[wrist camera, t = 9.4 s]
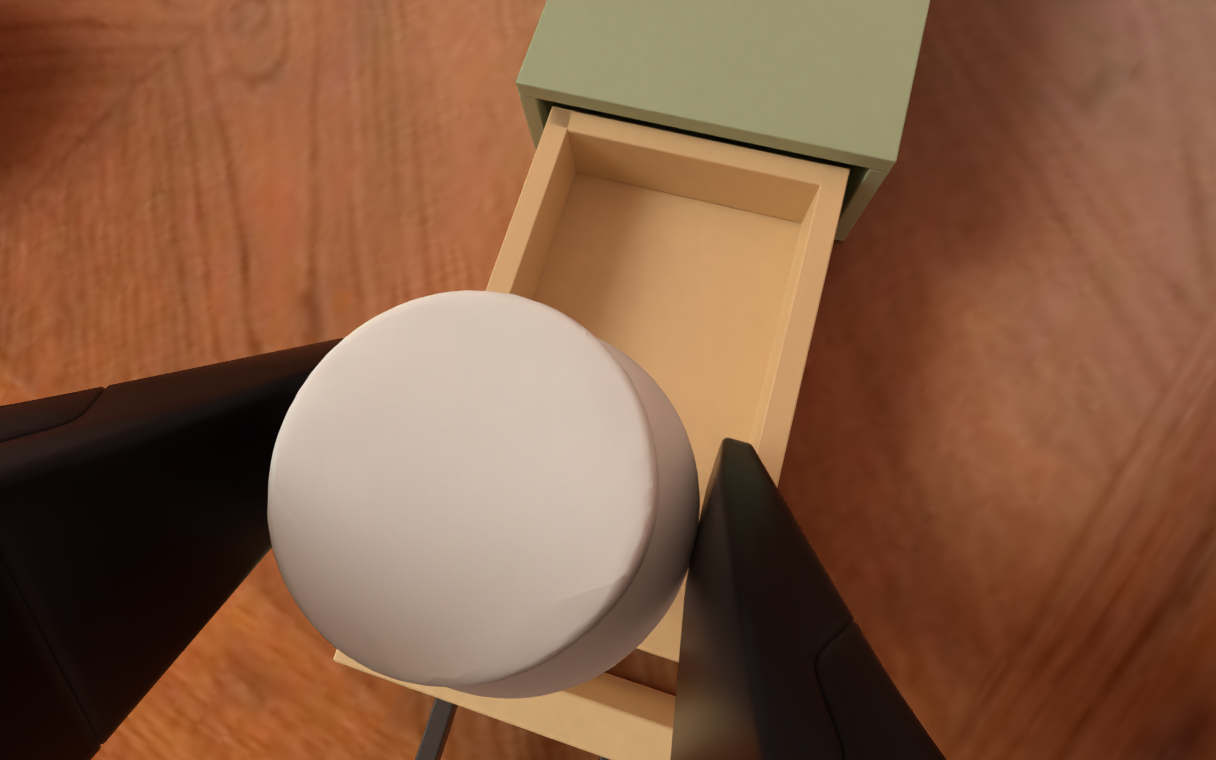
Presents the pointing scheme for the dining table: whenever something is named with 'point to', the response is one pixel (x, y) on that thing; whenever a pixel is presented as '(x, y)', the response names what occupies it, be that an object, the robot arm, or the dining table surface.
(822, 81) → the cabinet
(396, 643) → the supplement bottle
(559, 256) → the drawer
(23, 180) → the dining table surface
